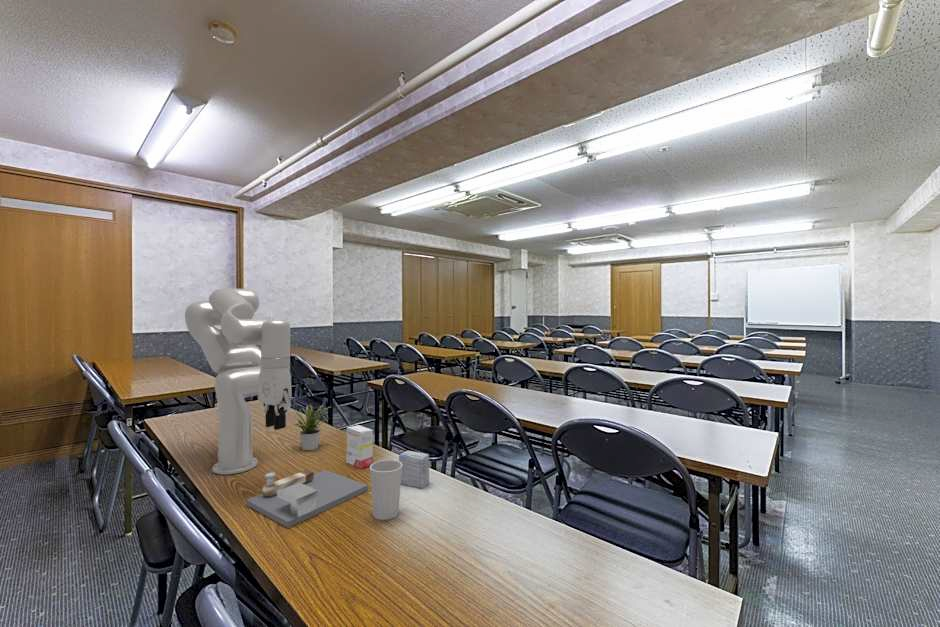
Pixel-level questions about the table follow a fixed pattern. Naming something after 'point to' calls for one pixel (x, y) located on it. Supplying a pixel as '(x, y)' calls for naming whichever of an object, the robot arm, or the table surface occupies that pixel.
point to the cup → (385, 488)
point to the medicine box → (414, 468)
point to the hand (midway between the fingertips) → (275, 426)
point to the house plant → (310, 428)
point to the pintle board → (329, 495)
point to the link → (288, 482)
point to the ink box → (359, 446)
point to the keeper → (299, 498)
